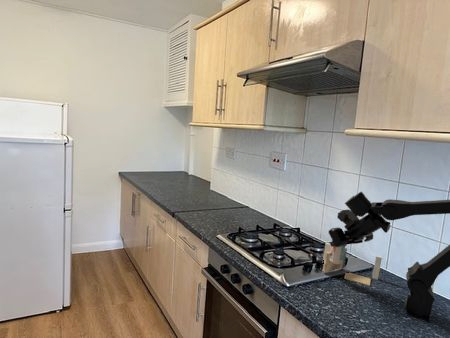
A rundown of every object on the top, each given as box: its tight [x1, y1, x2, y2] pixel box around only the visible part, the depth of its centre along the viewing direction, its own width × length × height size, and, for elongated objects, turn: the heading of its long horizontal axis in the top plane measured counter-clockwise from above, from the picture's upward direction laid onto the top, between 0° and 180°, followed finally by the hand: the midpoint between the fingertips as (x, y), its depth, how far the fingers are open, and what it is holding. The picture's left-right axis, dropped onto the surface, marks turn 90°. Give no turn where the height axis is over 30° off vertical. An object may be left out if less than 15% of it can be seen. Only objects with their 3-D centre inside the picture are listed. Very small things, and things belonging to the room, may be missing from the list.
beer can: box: [330, 230, 347, 265], centre depth 117 cm, size 5×5×12 cm
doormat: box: [344, 272, 372, 287], centre depth 120 cm, size 9×6×1 cm, turn 63°
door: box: [322, 251, 345, 273], centre depth 123 cm, size 10×2×8 cm, turn 119°
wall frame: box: [322, 242, 383, 281], centre depth 126 cm, size 21×2×9 cm, turn 63°
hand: (335, 244), depth 118 cm, fingers closed on beer can, 5 cm apart
